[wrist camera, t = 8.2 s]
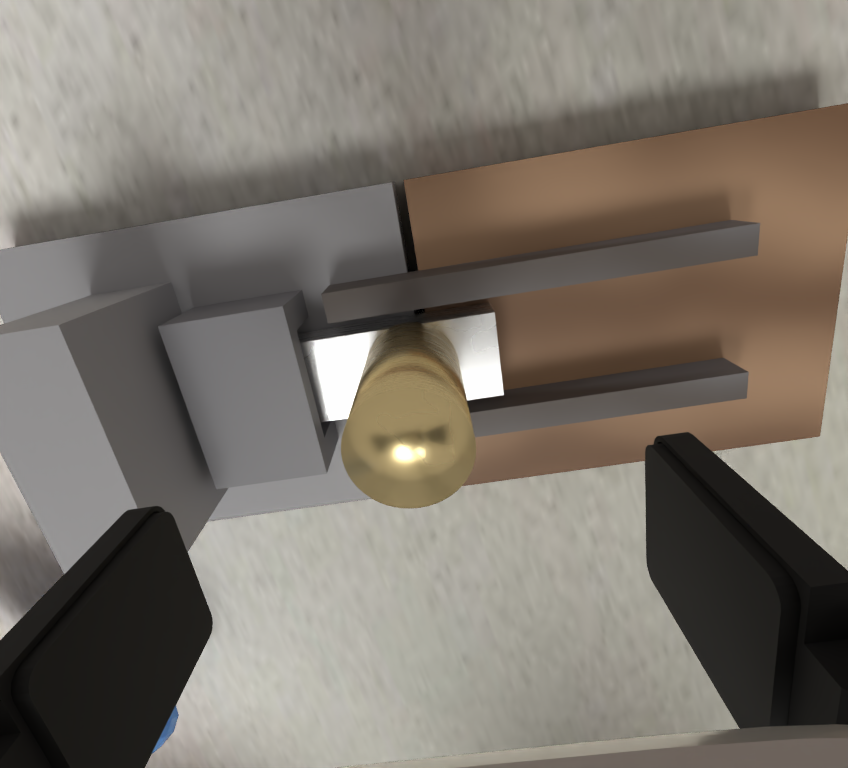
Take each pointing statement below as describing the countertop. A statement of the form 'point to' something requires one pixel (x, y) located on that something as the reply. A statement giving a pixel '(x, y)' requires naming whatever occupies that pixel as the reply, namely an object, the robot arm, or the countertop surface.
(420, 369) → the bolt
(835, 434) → the countertop surface
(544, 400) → the wooden block with rails
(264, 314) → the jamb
